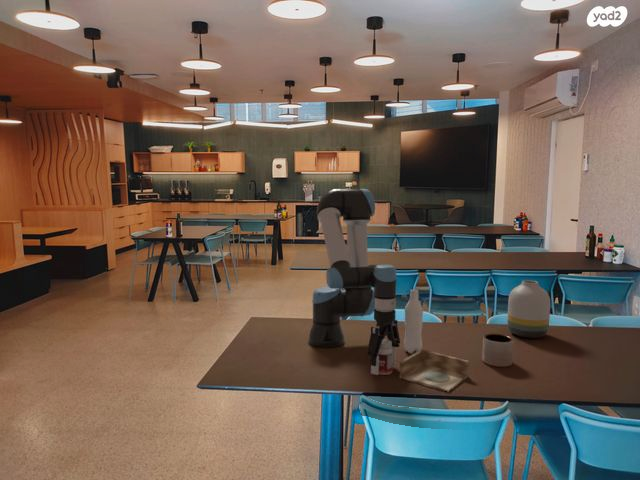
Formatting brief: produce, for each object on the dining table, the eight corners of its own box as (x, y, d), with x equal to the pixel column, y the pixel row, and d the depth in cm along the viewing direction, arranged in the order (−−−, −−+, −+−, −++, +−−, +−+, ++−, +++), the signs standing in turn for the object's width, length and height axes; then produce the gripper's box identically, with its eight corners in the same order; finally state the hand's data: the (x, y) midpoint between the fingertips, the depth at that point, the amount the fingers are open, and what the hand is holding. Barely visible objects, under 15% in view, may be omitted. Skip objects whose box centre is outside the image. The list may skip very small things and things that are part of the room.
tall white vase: (422, 355, 185) (423, 292, 182) (403, 353, 187) (404, 292, 184) (421, 348, 192) (423, 288, 189) (404, 347, 194) (405, 287, 191)
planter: (498, 370, 171) (499, 344, 170) (475, 360, 180) (476, 335, 179) (519, 364, 176) (520, 339, 175) (496, 355, 185) (497, 331, 184)
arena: (399, 377, 164) (399, 361, 163) (421, 364, 176) (421, 349, 175) (448, 392, 152) (448, 375, 152) (468, 376, 165) (468, 360, 164)
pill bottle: (371, 372, 169) (372, 341, 167) (381, 367, 173) (381, 337, 172) (386, 376, 165) (387, 345, 163) (395, 371, 169) (396, 341, 168)
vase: (550, 332, 213) (553, 280, 210) (545, 343, 198) (548, 287, 195) (510, 326, 222) (513, 276, 219) (503, 336, 207) (505, 282, 204)
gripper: (375, 318, 155) (374, 382, 158) (410, 304, 173) (409, 361, 175) (356, 314, 160) (356, 376, 162) (392, 300, 178) (391, 357, 180)
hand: (383, 368), depth 169 cm, fingers open, 11 cm apart
